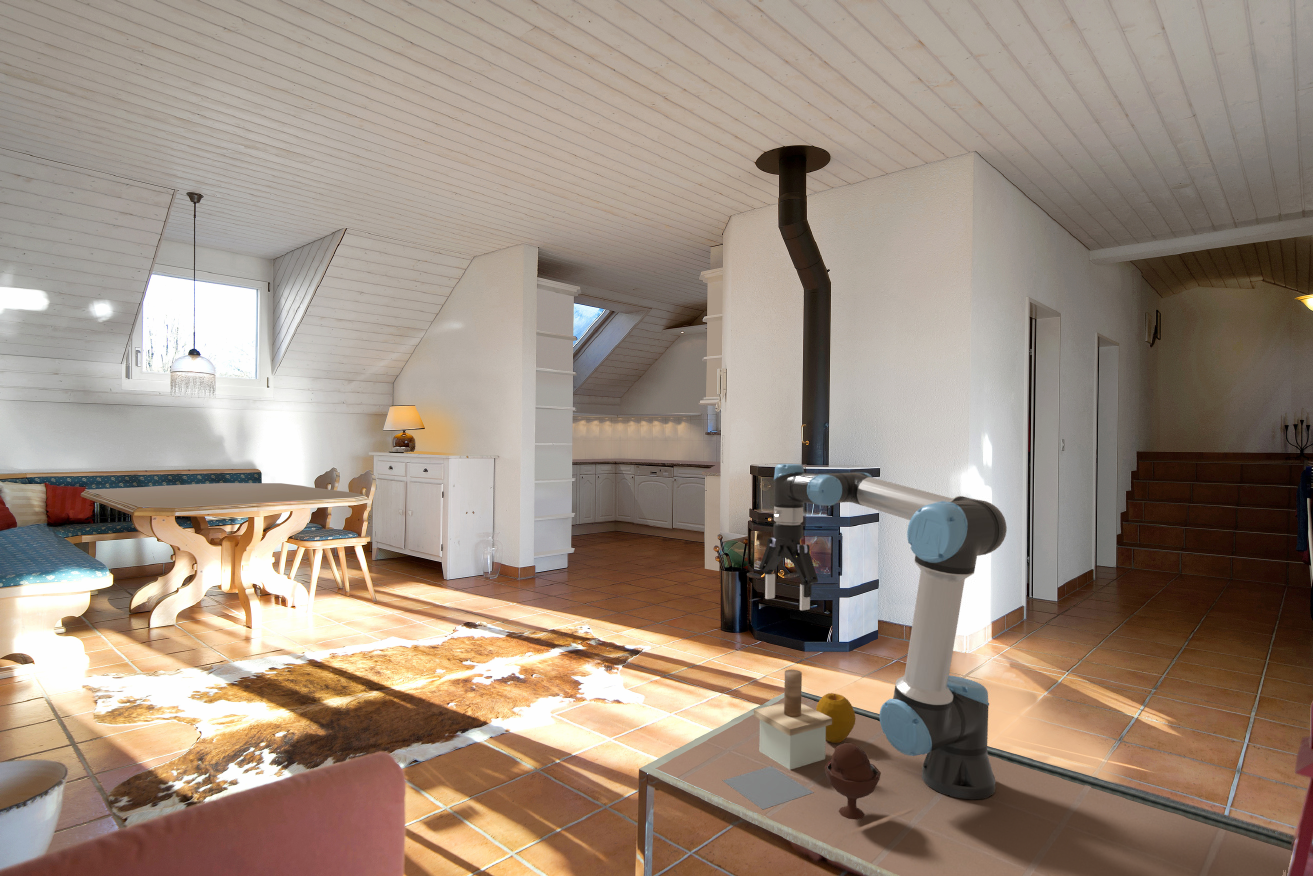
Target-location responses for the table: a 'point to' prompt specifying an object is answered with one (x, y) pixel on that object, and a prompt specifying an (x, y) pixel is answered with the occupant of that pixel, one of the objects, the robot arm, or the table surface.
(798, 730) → the lid
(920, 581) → the robot arm
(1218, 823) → the table surface
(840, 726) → the apple
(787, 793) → the mat
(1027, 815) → the table surface
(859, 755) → the ice cream bowl
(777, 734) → the pale green open box
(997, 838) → the table surface
